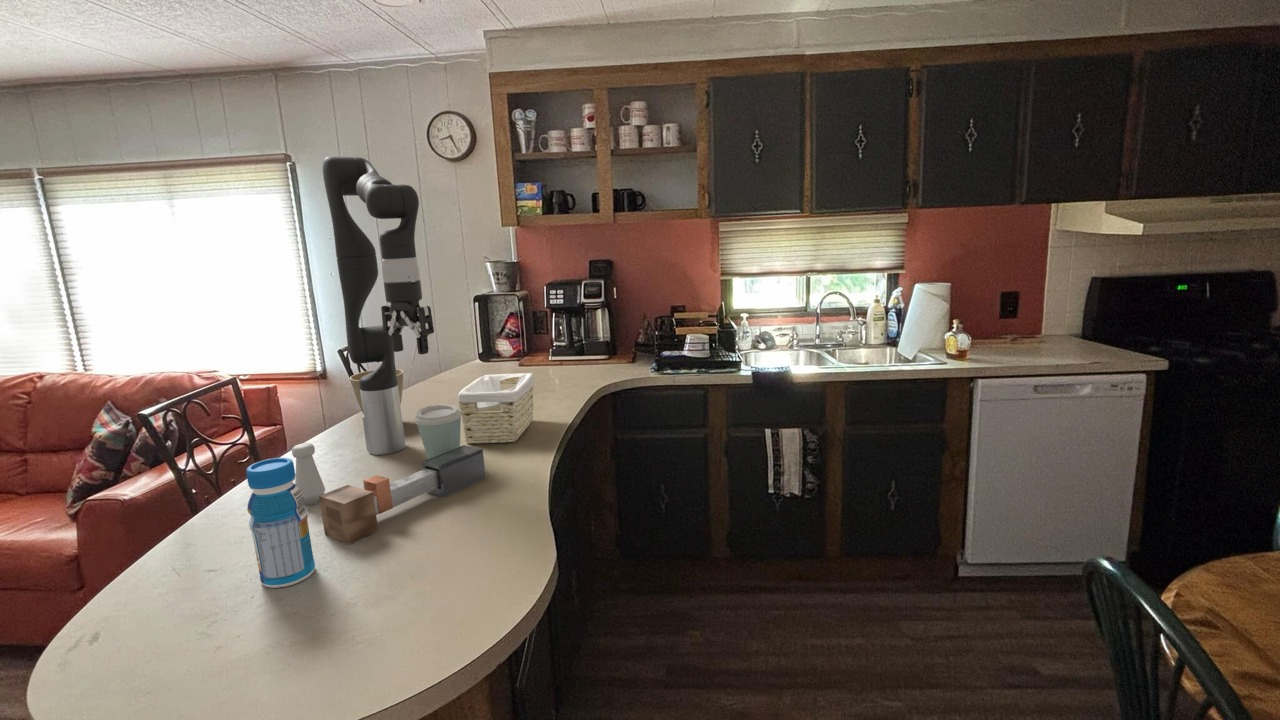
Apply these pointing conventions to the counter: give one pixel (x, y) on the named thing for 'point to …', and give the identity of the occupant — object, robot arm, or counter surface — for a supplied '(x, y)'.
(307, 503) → the salt shaker
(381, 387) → the robot arm
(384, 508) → the grey square bar
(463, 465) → the sleeve
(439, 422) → the disposable coffee cup
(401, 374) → the plant pot
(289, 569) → the beverage bottle
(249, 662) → the counter surface
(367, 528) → the cardboard box
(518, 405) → the storage basket
